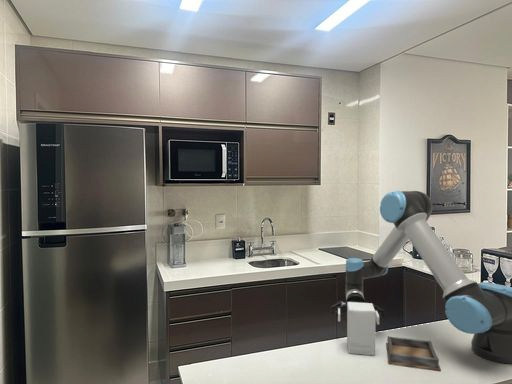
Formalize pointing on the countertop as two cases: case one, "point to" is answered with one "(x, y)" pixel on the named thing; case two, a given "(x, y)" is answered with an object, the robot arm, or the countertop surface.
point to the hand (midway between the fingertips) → (358, 319)
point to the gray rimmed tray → (412, 353)
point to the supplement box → (361, 328)
